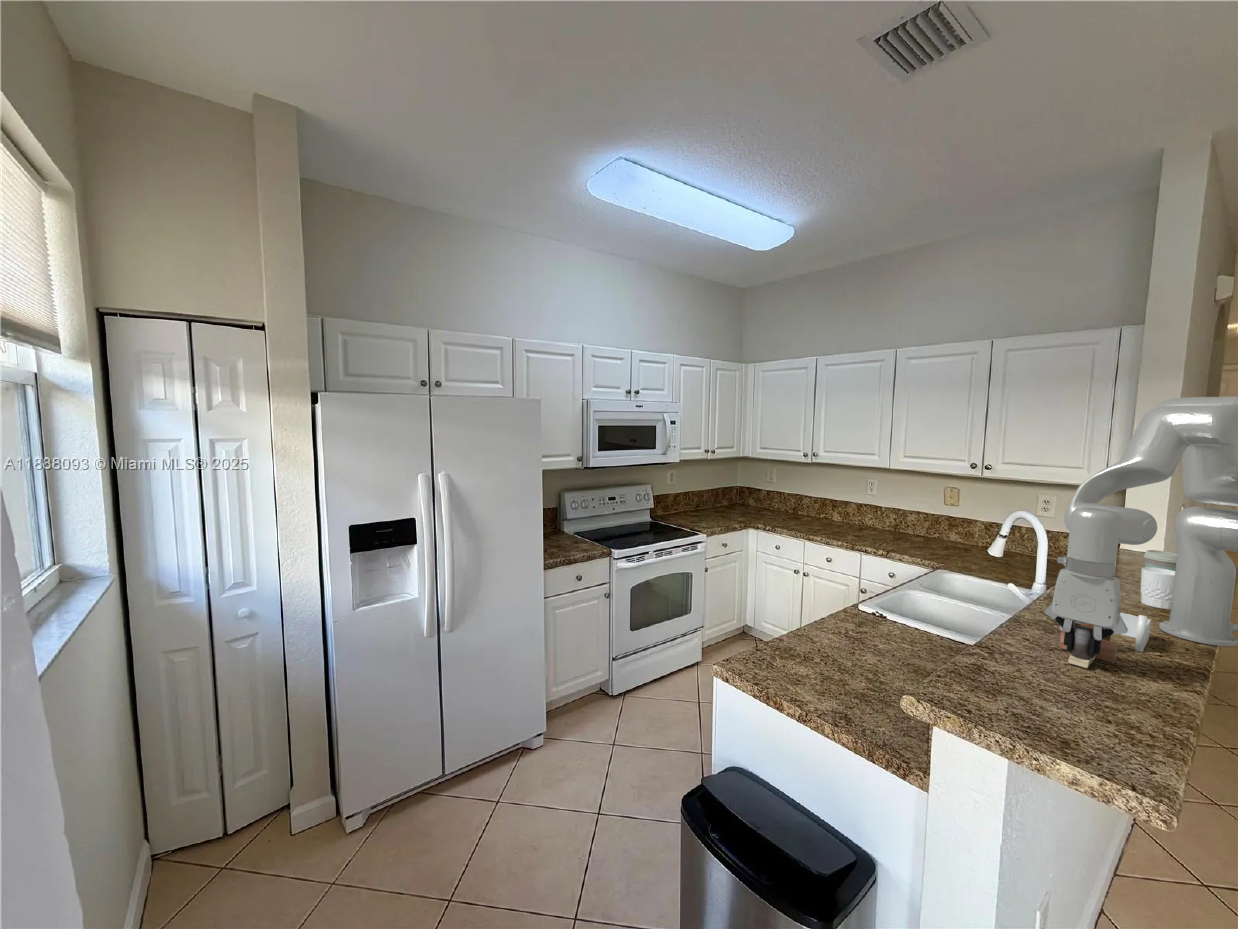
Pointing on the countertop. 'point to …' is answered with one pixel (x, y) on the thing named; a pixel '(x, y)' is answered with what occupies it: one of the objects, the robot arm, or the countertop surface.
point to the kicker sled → (1082, 647)
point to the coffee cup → (1160, 559)
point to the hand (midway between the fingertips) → (1081, 652)
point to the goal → (1135, 629)
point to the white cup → (1157, 587)
